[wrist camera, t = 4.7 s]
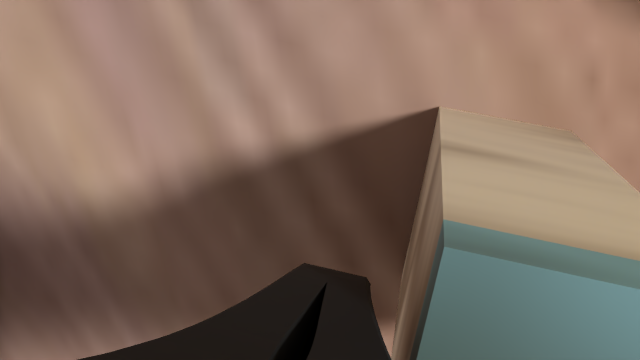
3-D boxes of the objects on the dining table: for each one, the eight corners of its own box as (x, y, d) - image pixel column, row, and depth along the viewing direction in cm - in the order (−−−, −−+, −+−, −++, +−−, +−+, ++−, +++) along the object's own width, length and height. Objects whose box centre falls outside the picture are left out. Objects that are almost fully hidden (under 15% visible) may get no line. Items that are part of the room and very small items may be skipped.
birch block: (519, 302, 19) (619, 655, 9) (401, 275, 19) (362, 577, 9) (571, 130, 17) (780, 320, 7) (439, 106, 18) (444, 246, 7)
